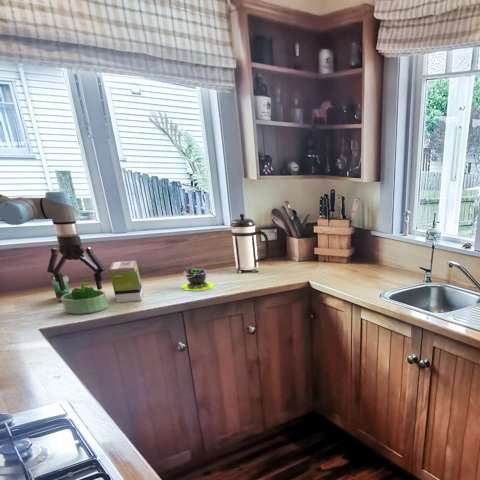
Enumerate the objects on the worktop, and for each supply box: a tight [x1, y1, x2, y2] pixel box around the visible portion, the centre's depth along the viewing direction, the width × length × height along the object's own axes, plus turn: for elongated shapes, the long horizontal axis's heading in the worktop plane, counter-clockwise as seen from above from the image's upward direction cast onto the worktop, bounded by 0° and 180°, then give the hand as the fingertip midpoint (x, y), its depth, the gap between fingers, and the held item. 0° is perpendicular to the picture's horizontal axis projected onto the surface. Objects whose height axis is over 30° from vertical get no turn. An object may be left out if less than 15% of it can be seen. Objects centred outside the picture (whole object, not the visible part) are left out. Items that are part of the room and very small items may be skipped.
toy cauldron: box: [180, 262, 215, 292], centre depth 222 cm, size 15×15×11 cm
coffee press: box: [227, 213, 270, 274], centre depth 251 cm, size 17×16×30 cm
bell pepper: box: [70, 282, 96, 300], centre depth 188 cm, size 8×8×10 cm
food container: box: [50, 273, 70, 303], centre depth 201 cm, size 12×6×10 cm, turn 34°
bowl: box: [61, 289, 109, 315], centre depth 189 cm, size 15×15×6 cm
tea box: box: [108, 260, 144, 304], centre depth 203 cm, size 15×10×15 cm
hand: (81, 289), depth 187 cm, fingers open, 13 cm apart
